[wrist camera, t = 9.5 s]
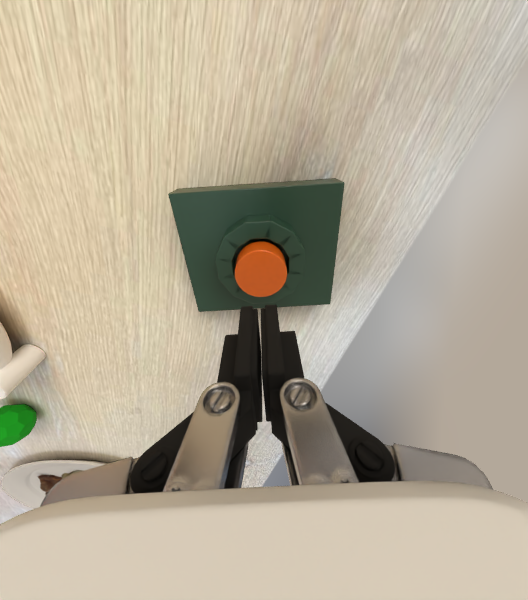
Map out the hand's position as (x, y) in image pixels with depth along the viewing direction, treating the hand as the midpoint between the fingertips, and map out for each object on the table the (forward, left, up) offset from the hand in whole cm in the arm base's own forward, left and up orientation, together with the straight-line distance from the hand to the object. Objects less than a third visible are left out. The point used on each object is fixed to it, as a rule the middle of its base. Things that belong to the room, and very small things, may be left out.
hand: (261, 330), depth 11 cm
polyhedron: (+34, +21, -11) cm, 41 cm away
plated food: (+36, +48, -11) cm, 61 cm away
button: (0, 0, -7) cm, 7 cm away
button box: (0, 0, -11) cm, 11 cm away
